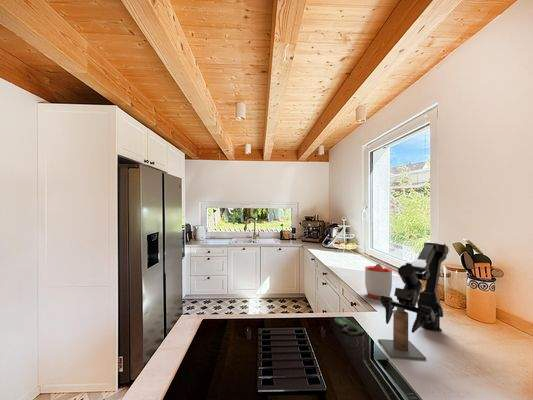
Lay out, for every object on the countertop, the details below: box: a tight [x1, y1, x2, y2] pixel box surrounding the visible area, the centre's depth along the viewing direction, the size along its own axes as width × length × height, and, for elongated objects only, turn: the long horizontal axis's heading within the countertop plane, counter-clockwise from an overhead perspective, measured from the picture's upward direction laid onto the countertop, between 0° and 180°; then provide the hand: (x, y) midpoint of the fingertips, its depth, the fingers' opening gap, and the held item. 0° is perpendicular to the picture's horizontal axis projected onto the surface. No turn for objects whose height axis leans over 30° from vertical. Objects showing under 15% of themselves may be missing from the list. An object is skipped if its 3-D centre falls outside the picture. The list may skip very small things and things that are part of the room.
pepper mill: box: [392, 307, 409, 351], centre depth 98 cm, size 5×5×14 cm
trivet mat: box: [378, 338, 427, 361], centre depth 97 cm, size 12×12×1 cm
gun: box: [333, 316, 366, 337], centre depth 116 cm, size 16×2×10 cm
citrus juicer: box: [364, 263, 393, 300], centre depth 160 cm, size 16×17×20 cm
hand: (399, 327), depth 97 cm, fingers open, 9 cm apart
